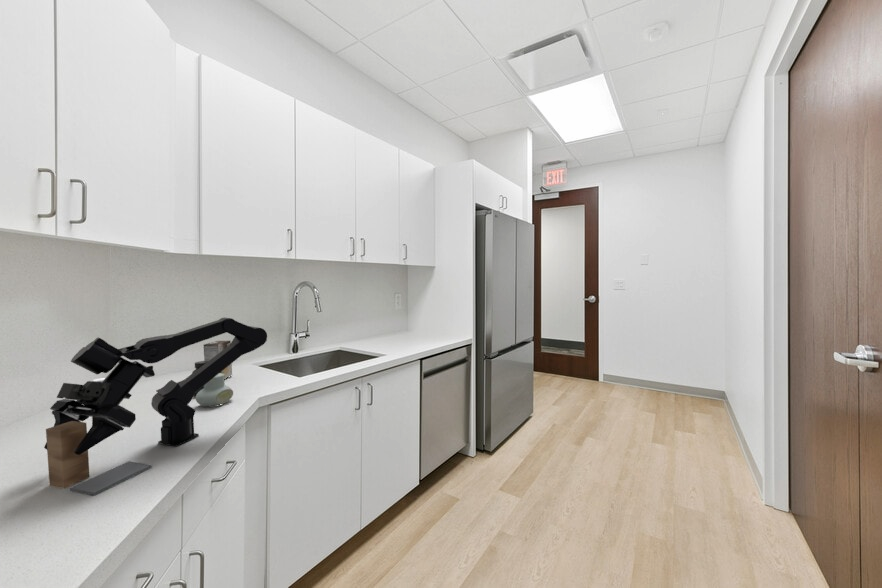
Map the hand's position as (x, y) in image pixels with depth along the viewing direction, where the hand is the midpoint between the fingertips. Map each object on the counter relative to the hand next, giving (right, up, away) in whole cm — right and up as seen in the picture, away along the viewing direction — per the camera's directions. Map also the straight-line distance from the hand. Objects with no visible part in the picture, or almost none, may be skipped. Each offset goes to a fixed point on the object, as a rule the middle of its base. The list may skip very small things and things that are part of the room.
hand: (61, 451), depth 76 cm
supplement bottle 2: (-9, -5, +60) cm, 61 cm away
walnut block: (0, -7, +1) cm, 7 cm away
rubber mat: (+9, -7, +2) cm, 11 cm away
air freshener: (+2, -5, +49) cm, 49 cm away
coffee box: (-15, -4, +79) cm, 81 cm away
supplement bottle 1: (-35, -6, +46) cm, 58 cm away
